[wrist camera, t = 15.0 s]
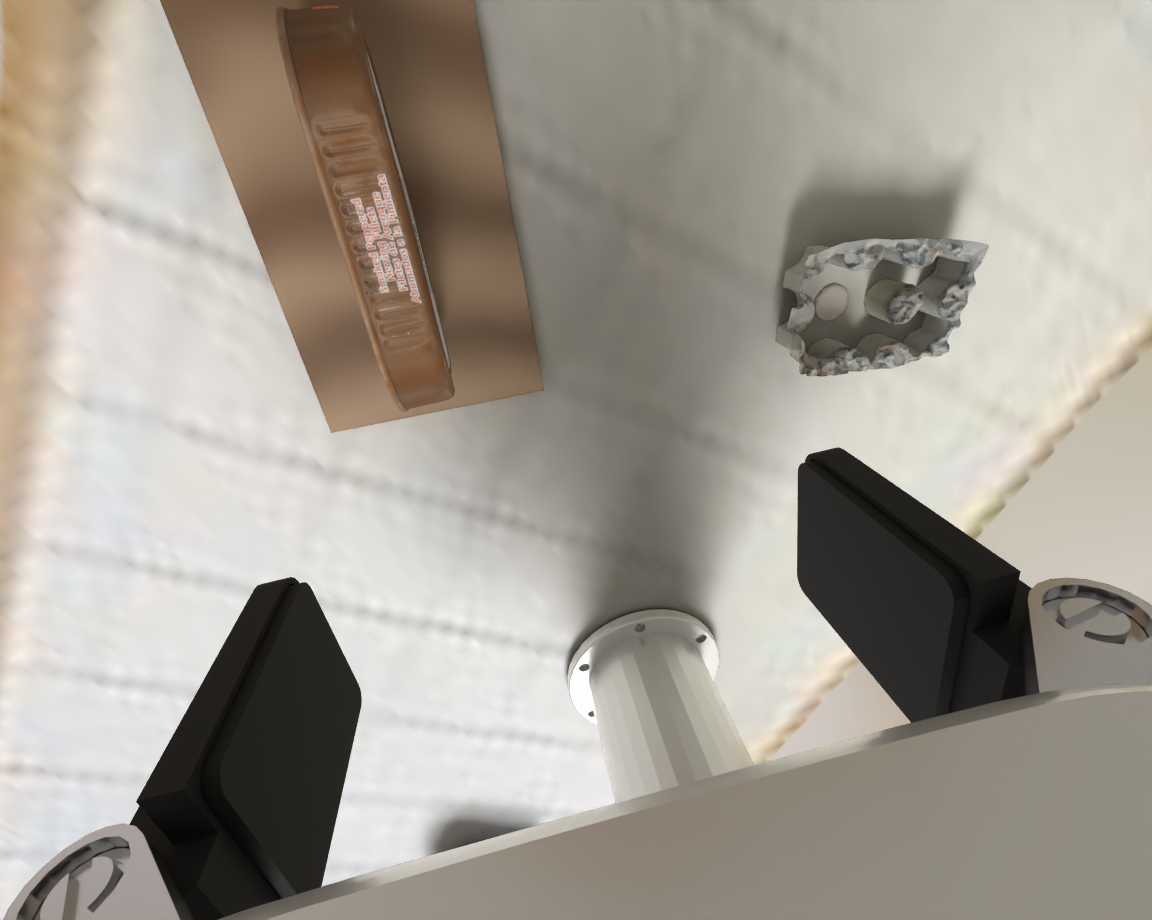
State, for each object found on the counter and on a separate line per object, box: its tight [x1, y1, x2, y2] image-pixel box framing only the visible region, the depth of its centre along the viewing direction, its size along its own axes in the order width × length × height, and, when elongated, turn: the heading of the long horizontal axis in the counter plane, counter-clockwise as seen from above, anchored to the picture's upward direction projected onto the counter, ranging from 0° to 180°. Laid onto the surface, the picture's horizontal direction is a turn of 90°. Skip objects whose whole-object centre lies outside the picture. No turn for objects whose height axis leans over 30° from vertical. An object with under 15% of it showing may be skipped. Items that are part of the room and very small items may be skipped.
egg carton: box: [776, 238, 989, 376], centre depth 33 cm, size 11×8×4 cm
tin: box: [276, 5, 455, 412], centre depth 23 cm, size 15×3×8 cm, turn 8°
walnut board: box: [160, 0, 544, 433], centre depth 27 cm, size 20×12×2 cm, turn 8°
